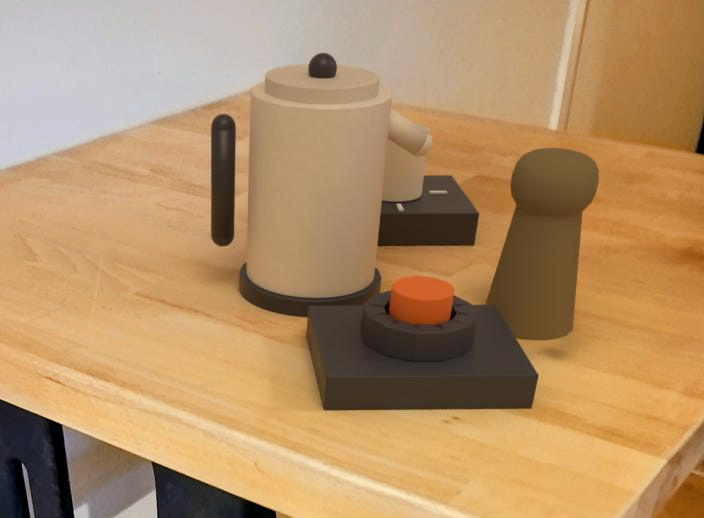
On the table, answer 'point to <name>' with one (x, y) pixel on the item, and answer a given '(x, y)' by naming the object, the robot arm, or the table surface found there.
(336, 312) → the switch block
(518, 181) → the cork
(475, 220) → the panel
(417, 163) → the knob
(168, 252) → the table surface
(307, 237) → the kettle
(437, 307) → the power button
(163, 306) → the table surface
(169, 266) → the table surface
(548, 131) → the table surface
